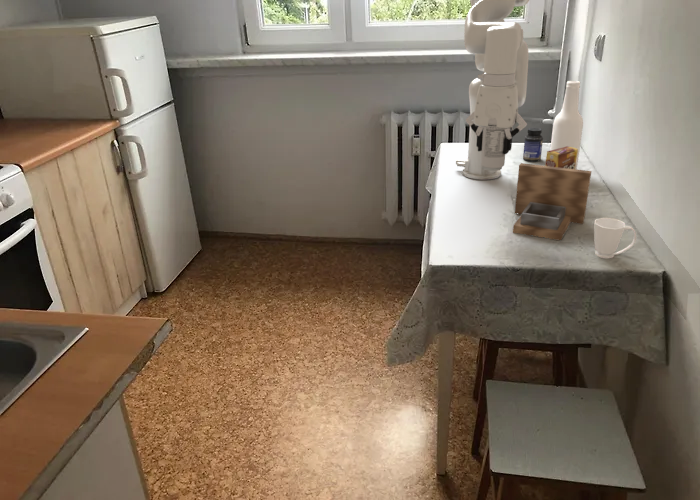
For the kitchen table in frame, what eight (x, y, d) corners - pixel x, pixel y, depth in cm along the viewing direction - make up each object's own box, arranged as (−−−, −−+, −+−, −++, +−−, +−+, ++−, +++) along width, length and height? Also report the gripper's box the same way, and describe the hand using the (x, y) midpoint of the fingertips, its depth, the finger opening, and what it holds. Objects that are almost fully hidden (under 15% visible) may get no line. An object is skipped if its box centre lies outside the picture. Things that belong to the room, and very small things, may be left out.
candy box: (551, 206, 166) (557, 154, 159) (539, 201, 169) (545, 150, 163) (571, 199, 170) (578, 148, 164) (559, 195, 173) (565, 145, 167)
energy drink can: (504, 164, 154) (509, 108, 147) (503, 172, 148) (508, 113, 142) (481, 163, 155) (485, 107, 148) (479, 171, 150) (483, 113, 143)
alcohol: (546, 171, 195) (556, 79, 182) (573, 171, 193) (586, 79, 180) (548, 179, 187) (560, 83, 174) (577, 180, 185) (591, 84, 172)
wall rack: (501, 230, 151) (505, 179, 145) (516, 211, 163) (521, 163, 157) (573, 242, 143) (581, 189, 137) (583, 221, 155) (591, 171, 149)
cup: (584, 248, 140) (589, 217, 137) (627, 248, 140) (633, 216, 136) (594, 261, 134) (599, 229, 131) (638, 261, 133) (645, 228, 130)
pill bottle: (542, 162, 204) (546, 130, 199) (525, 162, 204) (528, 131, 199) (537, 157, 209) (541, 126, 205) (520, 157, 209) (523, 127, 205)
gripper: (459, 80, 143) (456, 151, 151) (530, 84, 135) (523, 159, 143) (469, 75, 149) (466, 144, 157) (538, 79, 141) (530, 151, 149)
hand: (493, 150), depth 150 cm, fingers closed on energy drink can, 6 cm apart
